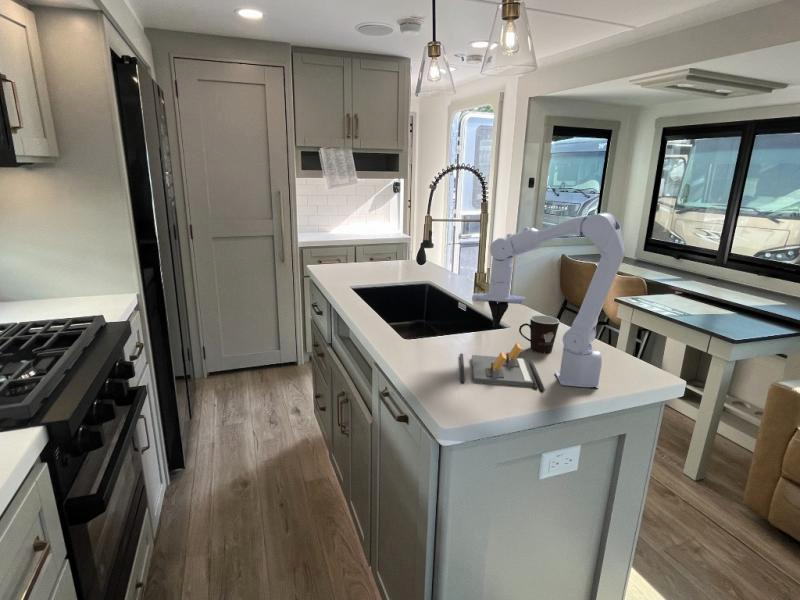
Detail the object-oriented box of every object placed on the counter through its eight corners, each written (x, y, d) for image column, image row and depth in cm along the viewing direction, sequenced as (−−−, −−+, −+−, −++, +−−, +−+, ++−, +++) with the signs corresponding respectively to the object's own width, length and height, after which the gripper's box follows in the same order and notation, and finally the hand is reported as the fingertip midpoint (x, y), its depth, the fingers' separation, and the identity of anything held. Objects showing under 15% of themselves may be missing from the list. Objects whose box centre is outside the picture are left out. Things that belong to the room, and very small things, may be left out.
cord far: (463, 356, 136) (463, 353, 136) (464, 383, 118) (464, 380, 118) (459, 355, 137) (459, 352, 136) (460, 383, 118) (460, 380, 118)
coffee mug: (554, 347, 147) (558, 317, 144) (556, 356, 139) (560, 325, 136) (517, 342, 150) (520, 313, 147) (516, 351, 142) (520, 320, 139)
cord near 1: (532, 362, 134) (532, 359, 133) (544, 392, 115) (545, 388, 115) (528, 362, 134) (529, 359, 133) (540, 391, 115) (541, 388, 115)
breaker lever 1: (495, 368, 124) (505, 353, 123) (496, 374, 120) (506, 359, 119) (491, 366, 124) (501, 351, 123) (492, 372, 120) (502, 357, 119)
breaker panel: (523, 362, 133) (525, 352, 132) (532, 386, 118) (534, 375, 117) (471, 358, 135) (472, 348, 134) (474, 382, 119) (475, 370, 119)
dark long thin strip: (527, 363, 133) (527, 360, 132) (537, 389, 116) (538, 386, 116) (524, 363, 133) (524, 360, 133) (533, 389, 116) (534, 385, 116)
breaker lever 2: (510, 358, 131) (519, 344, 130) (512, 364, 127) (521, 349, 126) (506, 356, 131) (516, 342, 130) (508, 362, 127) (518, 347, 126)
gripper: (524, 279, 132) (519, 324, 136) (473, 275, 133) (469, 320, 137) (528, 284, 125) (522, 331, 129) (474, 281, 126) (470, 328, 130)
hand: (495, 326), depth 132 cm, fingers closed
